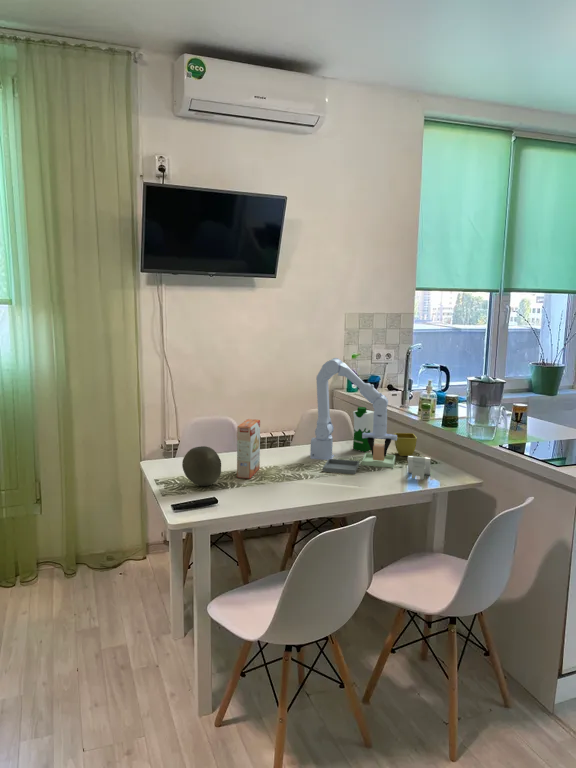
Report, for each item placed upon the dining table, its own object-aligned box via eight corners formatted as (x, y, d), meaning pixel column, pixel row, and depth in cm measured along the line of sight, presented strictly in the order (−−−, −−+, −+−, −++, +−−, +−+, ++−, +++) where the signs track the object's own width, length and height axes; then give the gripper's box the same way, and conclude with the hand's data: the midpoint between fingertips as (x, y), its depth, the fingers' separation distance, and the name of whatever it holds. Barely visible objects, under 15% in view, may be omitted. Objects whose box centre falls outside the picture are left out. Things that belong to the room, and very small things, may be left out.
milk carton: (350, 449, 267) (351, 407, 264) (361, 445, 273) (362, 404, 270) (365, 453, 261) (366, 409, 258) (377, 449, 268) (378, 407, 264)
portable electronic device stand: (430, 474, 232) (431, 454, 230) (428, 480, 224) (429, 459, 223) (408, 472, 234) (409, 452, 233) (406, 478, 227) (407, 457, 226)
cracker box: (251, 479, 224) (251, 426, 220) (236, 478, 225) (236, 426, 222) (260, 468, 237) (260, 419, 234) (246, 467, 239) (246, 418, 235)
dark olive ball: (201, 477, 226) (201, 440, 223) (229, 484, 218) (228, 446, 215) (175, 487, 214) (174, 448, 212) (203, 495, 206) (202, 454, 204)
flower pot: (416, 457, 254) (417, 438, 253) (396, 457, 254) (397, 437, 253) (412, 452, 263) (413, 433, 262) (393, 452, 263) (394, 432, 262)
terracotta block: (372, 460, 244) (373, 446, 243) (374, 457, 248) (374, 443, 247) (383, 460, 243) (384, 447, 242) (384, 457, 247) (385, 444, 246)
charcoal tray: (322, 472, 232) (322, 467, 232) (328, 463, 245) (328, 458, 244) (354, 475, 229) (355, 470, 229) (359, 466, 242) (359, 461, 241)
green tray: (361, 466, 241) (361, 461, 241) (365, 457, 254) (365, 452, 253) (393, 468, 238) (393, 463, 238) (395, 460, 251) (395, 455, 250)
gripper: (361, 425, 241) (360, 456, 243) (396, 427, 238) (395, 459, 240) (363, 421, 248) (362, 452, 250) (397, 423, 244) (396, 454, 247)
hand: (379, 455), depth 245 cm, fingers closed on terracotta block, 4 cm apart
